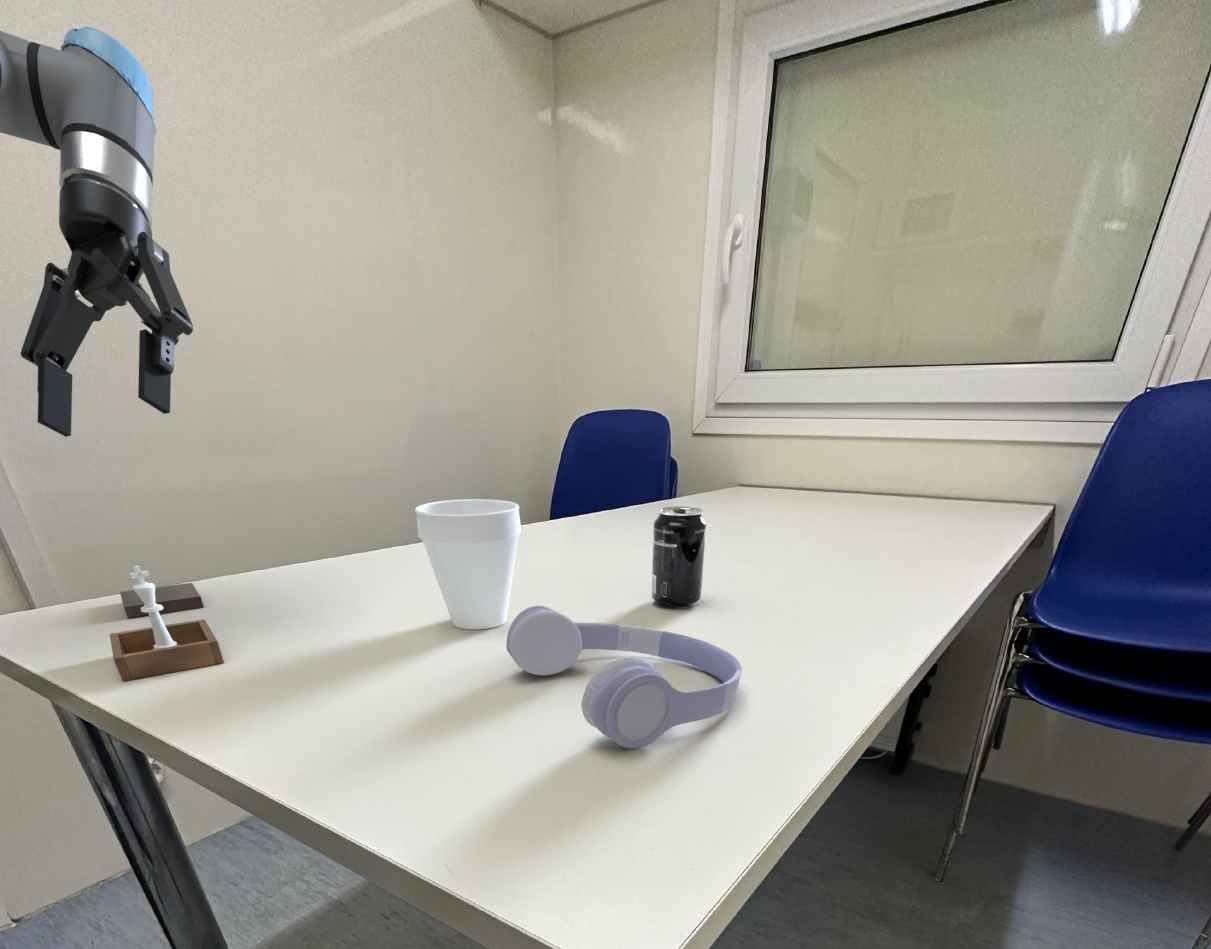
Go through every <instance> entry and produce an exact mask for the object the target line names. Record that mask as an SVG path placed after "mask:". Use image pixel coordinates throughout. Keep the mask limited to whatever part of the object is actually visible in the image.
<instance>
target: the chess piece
mask: <svg viewBox="0 0 1211 949" xmlns="http://www.w3.org/2000/svg"><path fill="white" fill-rule="evenodd" d="M133 569H134V572H131V573H128V575H129V578H130V579H134V580H135V579H137V580H138V583H136V584H134V585H133V586H132V589H133V590H134V591H135V592H136V593H137V594H138V596H139V597H140V599H141V600H142V601H143V602H144V604H145V605H144V606H143V607H141V612H144V613H148V614H149V615H148V616H149V620H150V625H151V627H152V629H153V633H154V638H155V645H154V646H153V647H154V648H155V649H160V648H166V647H172V646H178V645H176V644H177V642H175V641H173V640H172V638H171V636H170V634H169V632H168V631H167V629H166V627H165V625H166V624H165V623H164V620H163V619H162V617H161V614H159V612H158V611H160V610H162V609H163V607H162V605H159V604H157V603H155V587H156V585H155V583H152V582H147V581H146V580H145V577H150V572H149V570H143V571H142V569H141V567H140V566H139V565H134V566H133ZM153 650H154V649H153Z"/></svg>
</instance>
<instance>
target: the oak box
mask: <svg viewBox="0 0 1211 949" xmlns="http://www.w3.org/2000/svg"><path fill="white" fill-rule="evenodd" d="M164 625H165V627H166V629H167V631H168V632H169V634H170V636H171V638H172V640H173V641H175V642H177V644H176V645H178V646H172V647H166V648H160V649H155V648H154V647H153V646H154V645H155V638H154V633H153V629H152V626H151V627H145V628H144V627H143V628H138V629H131V630H124V631H119V632H118V631H117V632H113V633H112V632H111V633H109V639H110V647H111V652H112V658H113V661H114V663H115V666H116V669H117V671H118V673H119V676H120V678H121V681H122V682H127V681H132V680H138V679H145V678H149V677H153V676H154V677H155V676H159V675H166V674H170V673H175V672H181V671H188V670H193V669H197V668H198V669H199V668H202V667H208V666H214V665H221V664H224V663H225V660H224V658H223V654H222V652H221V648H220V644H219V642H218V640H217V638H216V636H215V635H214V633H213V631H212V629H211V627H210V626H209V624H208V622H207V620H206V619H204V618H202V619H198V620H190V621H189V620H188V621H184V622H177V623H172V624H164ZM153 649H154V650H153Z"/></svg>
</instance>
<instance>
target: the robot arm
mask: <svg viewBox="0 0 1211 949" xmlns="http://www.w3.org/2000/svg"><path fill="white" fill-rule="evenodd" d="M154 114H155V113H154V94H153V86H152V83H151V82H150V79H149V77H148V75H147V73H146V71H145V69H144V67H143V66H142V65H141V63H140V62H139V61H138V59H137V58H136V57H135V55H134V54H133V53H132V52H131V51H130V49H128V48H127V47H126V46H124V44H122V43H121V42H120V41H119V40H117V39H116V38H114V37H113V36H111V35H110V34H108V33H106V32H104V31H102V30H99V29H97V28H94V27H91V26H83V27H80V28H75V27H74V28H70V29H69V30H68V31H67V32H66V33H65V35H64V38H63V42H62V44H61V45H60V49H57V48H55V47H52V46H48V45H45V44H40V43H38V42H35V41H30V40H27V39H24V38H22V37H19V36H16V35H13V34H10V33H8V32H5V31H2V30H0V134H4V135H7V136H10V137H11V136H12V137H15V138H19V139H22V140H26V141H29V142H32V143H37V144H40V145H44V146H47V147H51V148H53V149H55V150H58V151H59V152H60V154H59V178H58V180H59V181H58V184H59V187H60V190H59V201H58V202H59V204H58V225H59V229H60V232H61V234H62V236H63V238H64V239H65V241H66V243H67V245H68V246H69V247H68V248H69V250H70V252H71V255H70V258H69V262H68V264H67V267H66V268H60V267H58V266H57V265H55V263H53V262H48V263H47V264H46V266H45V270H44V278H43V286H42V288H41V292H40V295H39V297H38V301H37V304H36V307H35V309H34V312H33V315H32V317H31V321H30V324H29V327H28V329H27V332H26V336H25V338H24V341H23V344H22V347H21V350H20V357H21V358H23V359H24V360H26V361H28V362H29V363H31V364H33V365H34V366H35V367H37V383H36V384H37V388H36V390H37V423H38V424H40V425H42V426H44V427H46V428H47V429H50V430H52V431H53V432H56V433H57V434H59V435H62V436H63V437H66V438H67V437H72V414H73V413H72V411H73V410H72V408H73V407H72V406H73V374H72V373H70V372H68V371H67V370H68V368H69V367H70V365H71V363H72V361H73V360H74V359H75V358H74V357H75V356H76V354H77V352H78V350H79V348H80V347H81V345H82V343H83V342H84V340H85V338H86V336H87V334H88V333H89V331H90V329H91V327H92V325H93V323H94V322H100V321H102V319H103V317H104V315H105V313H106V312H107V311H110V310H112V309H113V308H115V307H124V306H127V305H128V304H129V305H130V306H131V307H132V309H133V310H134V312H136V314H137V315H138V316H139V317H140V319H141V320H140V322H141V323H142V324H143V325H144V326H146V327H147V328H148V329H150V330H151V332H150V331H149V330H147V328H145V329H141V330H139V340H138V341H139V342H138V344H139V345H138V346H139V347H138V385H137V386H138V388H137V389H138V391H137V397H138V399H140V401H141V400H142V401H143V402H145V403H146V404H148V405H149V406H151V407H153V408H154V409H156V410H157V411H159V412H161V413H162V414H163V415H166V414H170V413H171V388H172V386H171V385H172V382H171V381H172V377H171V376H172V374H173V373H174V369H175V346H176V345H177V344H178V343H179V340H180V336H181V335H183V334H184V335H185V336H190V335H192V333H193V331H194V325H193V323H192V320H191V316H190V315H189V313H188V310H187V308H186V306H185V303H184V301H183V299H182V296H181V294H180V291H179V289H178V287H177V284H176V282H175V279H174V277H173V275H172V272H171V262H170V254H169V253H168V251H167V250H166V249H164V248H163V247H162V246H161V245H160V244H159V243H158V242H156V241H155V239H153V230H152V227H153V226H152V225H153V187H154V186H153V185H154V159H155V158H154V156H155V155H154V152H155V138H156V134H157V128H156V125H155V115H154ZM143 275H144V276H145V278H146V281H147V283H148V286H149V289H150V291H151V293H152V296H153V298H154V300H155V302H156V305H155V303H154V301H152V300H151V299H152V297H151V296H150V295H149V293H147V291H146V290H145V289H144V287H143V286H142V284H141V283H140V280H141V278H142V276H143ZM80 297H82V298H83V299H84V300H86V301H87V302H88V303H90V304H92V306H90V305H87V304H86V303H85V302H83V301H82V300H80Z"/></svg>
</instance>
